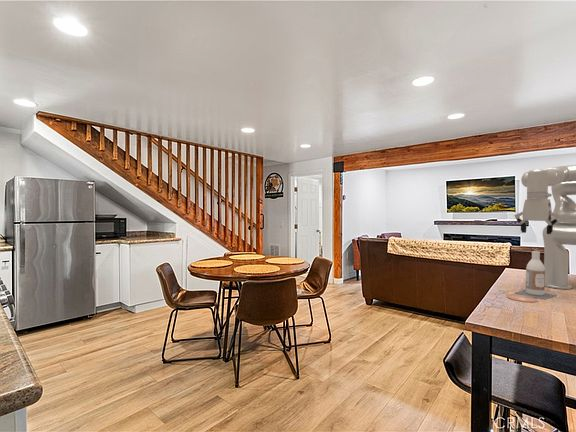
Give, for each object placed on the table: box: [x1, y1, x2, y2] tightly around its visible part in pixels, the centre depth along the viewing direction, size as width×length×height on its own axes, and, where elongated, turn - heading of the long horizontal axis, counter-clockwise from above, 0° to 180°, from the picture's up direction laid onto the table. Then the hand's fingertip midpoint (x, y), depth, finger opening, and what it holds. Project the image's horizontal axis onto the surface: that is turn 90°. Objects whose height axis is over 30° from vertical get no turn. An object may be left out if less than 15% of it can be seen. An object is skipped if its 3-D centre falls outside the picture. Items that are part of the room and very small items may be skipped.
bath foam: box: [525, 250, 546, 296], centre depth 145 cm, size 7×7×20 cm
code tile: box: [514, 289, 557, 300], centre depth 145 cm, size 12×12×1 cm
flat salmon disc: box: [506, 293, 539, 303], centre depth 138 cm, size 11×11×1 cm
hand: (536, 233), depth 144 cm, fingers open, 9 cm apart
